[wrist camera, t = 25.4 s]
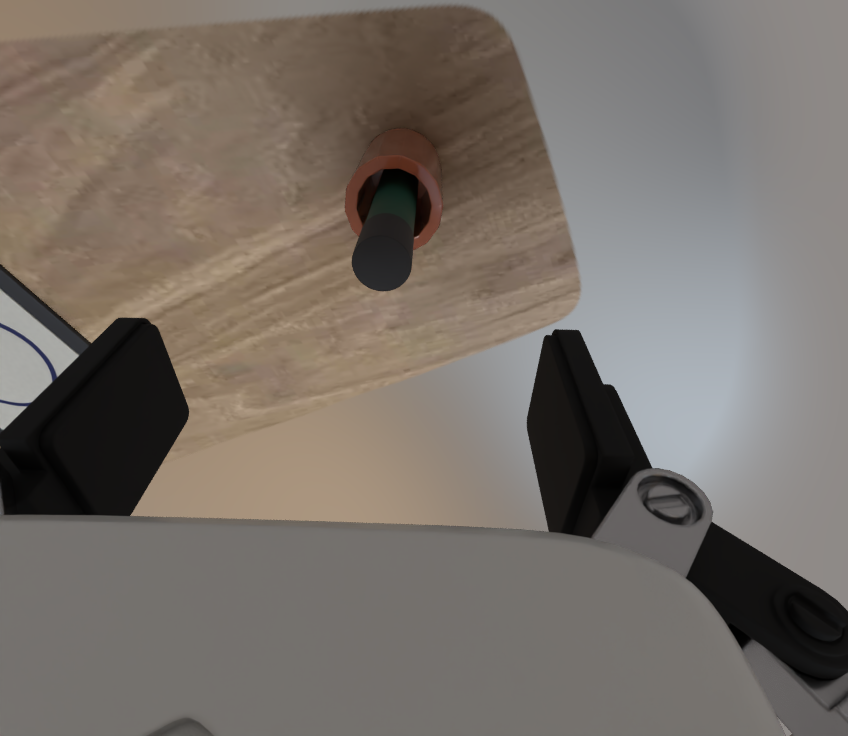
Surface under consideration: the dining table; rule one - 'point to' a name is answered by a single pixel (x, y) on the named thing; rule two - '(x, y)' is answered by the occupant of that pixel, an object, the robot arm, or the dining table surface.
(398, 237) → the marker
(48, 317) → the target board
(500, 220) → the dining table surface
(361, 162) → the pen pot
